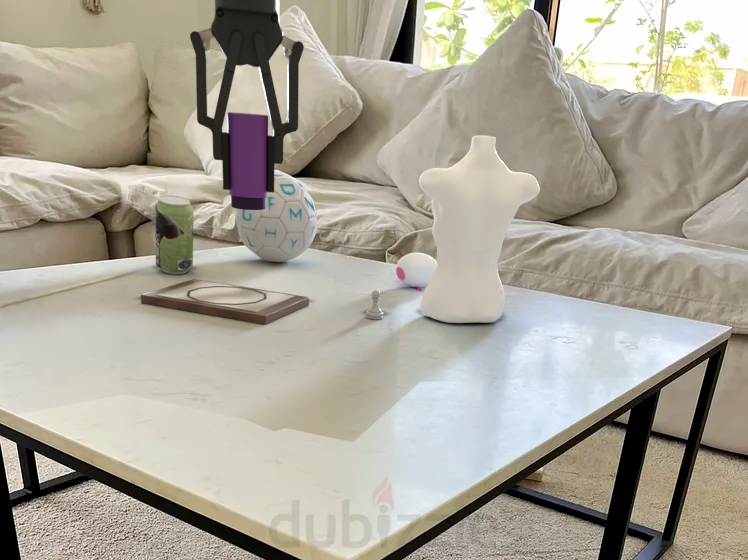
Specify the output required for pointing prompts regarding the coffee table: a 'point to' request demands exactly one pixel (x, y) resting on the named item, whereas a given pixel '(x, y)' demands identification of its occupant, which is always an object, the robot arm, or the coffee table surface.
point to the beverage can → (174, 234)
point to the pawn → (375, 307)
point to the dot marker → (248, 160)
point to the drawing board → (226, 300)
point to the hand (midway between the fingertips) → (248, 189)
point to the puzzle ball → (279, 222)
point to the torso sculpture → (471, 232)
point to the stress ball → (416, 269)
